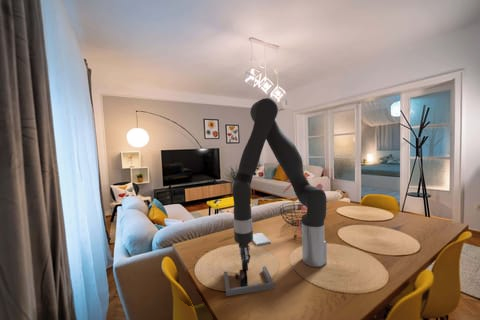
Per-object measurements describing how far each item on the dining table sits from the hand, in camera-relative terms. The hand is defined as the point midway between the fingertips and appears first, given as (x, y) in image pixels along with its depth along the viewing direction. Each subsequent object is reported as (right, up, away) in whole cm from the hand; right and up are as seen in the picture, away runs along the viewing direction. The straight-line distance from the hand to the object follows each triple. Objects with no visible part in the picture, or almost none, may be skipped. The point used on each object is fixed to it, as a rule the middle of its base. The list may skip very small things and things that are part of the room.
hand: (245, 270), depth 82 cm
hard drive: (+9, 0, +30) cm, 31 cm away
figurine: (+35, +2, +38) cm, 51 cm away
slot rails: (+1, -2, -5) cm, 5 cm away
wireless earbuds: (-1, -2, -4) cm, 5 cm away
